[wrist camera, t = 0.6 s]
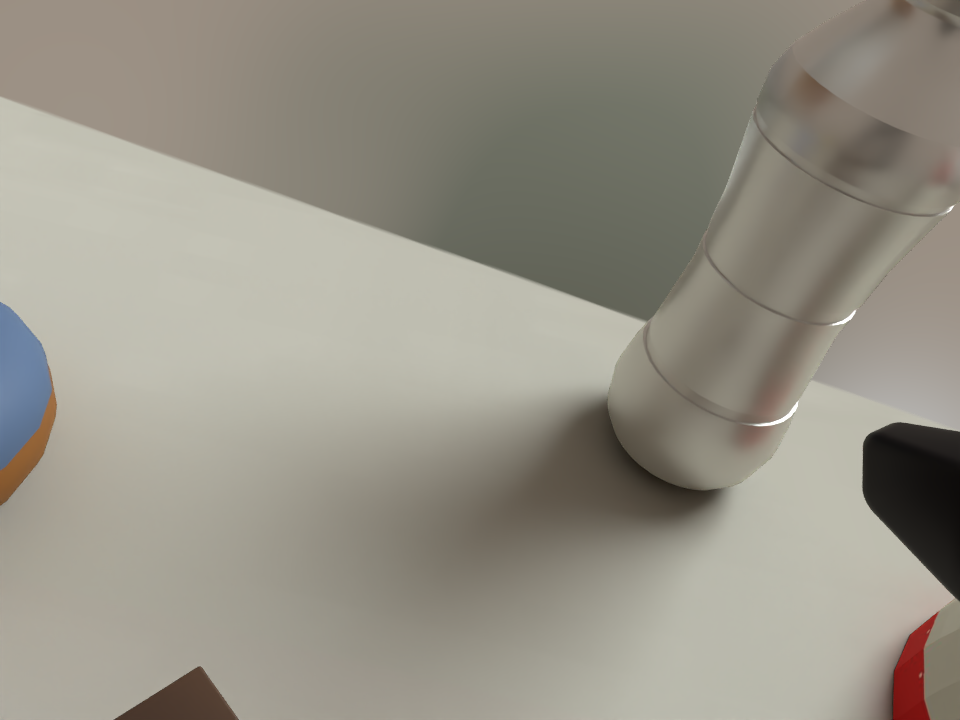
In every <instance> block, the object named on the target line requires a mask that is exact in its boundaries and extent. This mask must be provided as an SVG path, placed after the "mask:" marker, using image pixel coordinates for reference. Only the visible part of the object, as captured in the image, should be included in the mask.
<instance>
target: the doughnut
mask: <svg viewBox="0 0 960 720" xmlns="http://www.w3.org/2000/svg"><path fill="white" fill-rule="evenodd" d="M56 406H57V404H56V398H55V393H54V388H53V382H52V377H51V372H50V369H49V366H48V363H47V359H46V355H45V352H44V350H43V347H42V344H41V343H40V341H39V340H38V339H37V338H36V337H35V335H34V334H33V333H32V332H31V331H30V329H29V328H28V327H27V326H26V325H25V323H24V322H23V321H22V320H21V319H20V317H19V316H18V315H17V314H16V313H15V312H14V311H13V310H12V309H11V308H10V307H8V306H6V305H5V304H3V303H1V302H0V505H2V504H3V503H4V502H6V501H7V500H8V499H9V497H10V496H11V495H12V494H13V493H14V491H15V490H16V489H17V488H18V487H19V485H20V484H21V483H22V482H23V480H24V479H25V478H26V477H27V476H28V474H29V473H30V472H31V471H32V470H33V468H34V467H35V466H36V465H37V463H38V462H39V460H40V459H41V457H42V456H43V454H44V451H45V448H46V445H47V442H48V439H49V435H50V432H51V429H52V426H53V423H54V420H55V417H56Z"/></svg>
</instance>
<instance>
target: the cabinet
mask: <svg viewBox="0 0 960 720" xmlns="http://www.w3.org/2000/svg"><path fill="white" fill-rule="evenodd" d="M114 720H239V719H238V718H237V716H236V715H235V714H234V712H233V711H232V709H231V708H230V707H229V705H228V704H227V702H226V701H225V699H224V698H223V697H222V695H221V694H220V692H219V691H218V690H217V688H216V687H215V685H214V684H213V683H212V681H211V680H210V678H209V677H208V675H207V674H206V673H205V671H204V670H203V668H202V667H200V666H199V667H197V668H195V669H194V670H192V671H191V672H189V673H187V674H186V675H184V676H183V677H181V678H179V679H178V680H176V681H175V682H173V683H171V684H170V685H168V686H167V687H165V688H164V689H162V690H160V691H159V692H157V693H156V694H154V695H152V696H151V697H149V698H148V699H146V700H144V701H143V702H141V703H140V704H138V705H137V706H135V707H133V708H132V709H130V710H129V711H127V712H125V713H124V714H122V715H121V716H119V717H117V718H116V719H114Z"/></svg>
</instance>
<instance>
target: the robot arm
mask: <svg viewBox="0 0 960 720" xmlns="http://www.w3.org/2000/svg"><path fill="white" fill-rule="evenodd" d="M862 488H863V494H864V498H865V500H866V502H867V504H868V506H869V507H870V509H871V510H872V511H873V512H874V513H875V514H876V515H877V516H878V518H879V519H880V520H881V521H882V522H883V523H884V524H885V525H886V526H887V527H888V528H889V529H890V530H891V531H892V532H893V533H894V534H895V535H896V536H897V537H898V538H899V540H900V541H901V542H902V543H903V544H904V545H905V546H906V547H907V548H908V549H909V550H910V551H911V552H912V553H913V554H914V555H915V556H916V557H917V558H918V559H919V560H920V561H921V563H922V564H923V565H924V566H925V567H926V568H927V569H928V570H929V571H930V572H931V573H932V574H933V575H934V576H935V577H936V578H937V579H938V580H939V581H940V582H941V583H942V585H943V586H944V587H945V588H946V589H947V590H948V591H949V592H950V593H951V594H952V595H953V596H954V597H955V598H956V599H957V600H958V601H959V602H960V432H958V431H952V430H946V429H939V428H933V427H927V426H921V425H914V424H908V423H901V422H898V423H892V424H889V425H887V426H885V427H883V428H881V429H879V430H876V431H874V432H872V433H870V434H869V435H868V436H867V437H866V439H865V441H864V443H863V482H862Z"/></svg>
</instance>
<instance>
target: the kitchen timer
mask: <svg viewBox="0 0 960 720" xmlns="http://www.w3.org/2000/svg"><path fill="white" fill-rule="evenodd" d="M893 720H960V602H959V601H958V600H957V599H956V598H955V599H954V600H952V601H951V602H950V603H949V604H947V605H946V606H945V607H944V608H942V609H941V610H940V611H939V612H937V613H936V614H935V615H934V616H932V617H931V618H930V619H929V620H928V621H926V622H925V623H924V624H923V625H921V626H920V627H919V628H918V629H917V630H915V631H914V632H913V633H912V634H911V635H910V636H909V638H908V641H907V643H906V645H905V648H904V650H903V652H902V655H901V657H900V659H899V661H898V664H897V666H896V668H895V671H894V700H893Z"/></svg>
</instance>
